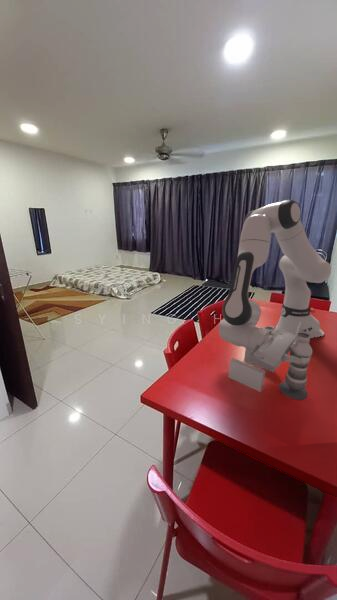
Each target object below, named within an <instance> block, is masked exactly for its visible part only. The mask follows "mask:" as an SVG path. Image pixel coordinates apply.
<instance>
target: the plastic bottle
mask: <svg viewBox="0 0 337 600" xmlns="http://www.w3.org/2000/svg"><path fill="white" fill-rule="evenodd" d="M310 339H311V338H310V335H308V334H306V333H302V332H301V333H298V334H297V337H296V340H295V342H294V343H293V344H292V345H291V347H290V351H289V356H295V355H296V356H298V357H301V361H300V363H299V364H297V363H294V362H289V365H288V366H289V367H288V369H287V372H286V375H285V379H284V381H286V384H287V386H288V387H289V388H291V389H293V390H297V391H300V390H303V389H304V388H305V389H306V386H307V382H308V381H307V375H308V367H309V364H310V360H311V358H312V355H313V348H312V347H311V345H310V342H311V341H310Z"/></svg>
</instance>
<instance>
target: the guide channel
mask: <svg viewBox="0 0 337 600" xmlns="http://www.w3.org/2000/svg"><path fill="white" fill-rule="evenodd" d="M243 359H244V360H243V361H241V360H239V359H236V358H234V357H232V358H231V359H230V361H229V368H228V378H229V379H230V380H233V381H236V382H238V383H239V384H242V385H244V386H246V387H248V388H250V389H252V390H255V391H257V392H259V393H260V392H262V390H263V388H264V381H265V376H266V375H265V374H266V370H267V371H269V372H272V373H274V372H275V371H276V369H277V367H273V366H270V365H268V364H266V363H264V362H262V361H260V360H259V359H258V358H257V357H255V356H253V354H252V351H250V350H248V349H246V348H245V350H244V357H243ZM258 367H259V368H258ZM261 368H262V369H261ZM263 369H264V370H263Z"/></svg>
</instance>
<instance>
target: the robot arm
mask: <svg viewBox="0 0 337 600" xmlns="http://www.w3.org/2000/svg"><path fill="white" fill-rule="evenodd" d="M301 216H302V210H301V207H300V205H299V203H298V202H297V201H296V200H294V199H285V200H282V201H277V202H272V203H269V204H267V205H264V206H261V207H259V208H257V209H253V210H251V211H249V212H247V214H246V215H245V218H244V219H243V225H242V229H241V233H240V237H239V244H238V249H237V250H238V251H237V258H236V259H235V262H234V263H235V264H234V267H233V272H232V277H231V278H232V279H231V282H230V287H229V291H228V294H227V297H226V298H225V300H224V301H223V304H222V307H221V314H222V317H223V319H221V320H220V321H219V323H218V335H219V337H220V338H221V339H222V340H224V341H226V342H227V343H229V344H231V345H235V346H237V347H243V348H245V349H248V350H250V351H252V354H253V356H255V357H257V358H258V359H259V360H260V361H262V362H264V363H266V364H268V365H270V366H273V367H276V368H279V367H280V366H281V364H282V363H283V362H285V363H290V362H294V363H297V364H299V363H300V361H301V357H298V356H296V355H295V356H290V347H291V345H292V344H293V343H294V342H295V341H297V340H296V337H297V334H298V333H301V332H302V333H306V334H308V335H310V339H314V337H315V338H319V337H320V336H321V337H324V336H325V332H324V331H323V330H322V329H321V324H320V321H319V320H318V319H317V318H316V317H314V315H312V314H314V313H316V312H317V311H316V309H315V308H313V307H310V306H309V305H310V302H311V301H310V300H311V295H312V291H311V289H310V288H309V286H308V284H307V283H312V284H313V283H315V284H321V283H323V282H325V281H326V280H328V279H329V277H330V276H331V273H332V265H331V264H330V262H328V261H327V260H325V259H324V258H322V257H321V256H320V254H319V253H318V252H317V251H316V249H315V248H314V246H312V244H311V243H310V240H309V239H308V236H307V233H306V231H305V228H304V226H303V223H302V221H301ZM272 234H274V236H275V239H276V241H277V243H278V245H279V248H280V250H281V252H282V254H283V255H282V257H281V258H280V260H279V265H278V267H279V269H280V271H281V272H282V274H283V278H284V284H285V286H284V287H285V291H284V297H283V303H281V304H282V305H281V309H280V317H279V320H278V322H277V324H276V326H275V327H274V325H268V326H265V327H258V326H257V324H258V321H259V320H260V317H261V313H262V311H261V310H262V309H261V306H260V305H259V303H257V302H256V301H254V300H252V299H250V298H249V291H250V287H251V280H252V277H253V273H254V272H255V270H256V269H257V268H259V267H261V266H263V265H264V264H265V263H266V262H267V259H268V257H269V254H270V246H271V235H272Z"/></svg>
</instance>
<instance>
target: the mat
mask: <svg viewBox="0 0 337 600" xmlns="http://www.w3.org/2000/svg"><path fill="white" fill-rule="evenodd" d="M278 389H279V391H280V393H281V394H282V395H283V396H285V397H287V398H289V399H290V400H296V401H303V400H306V399H307V398H308V394H309V393H308V391H307V389H306V387H305V388H304V389H303V390H300V391H297V390H293V389H291V388H289V387H288V386H287V384H286V380H284V381H282V382H280V383H279V384H278Z"/></svg>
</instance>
